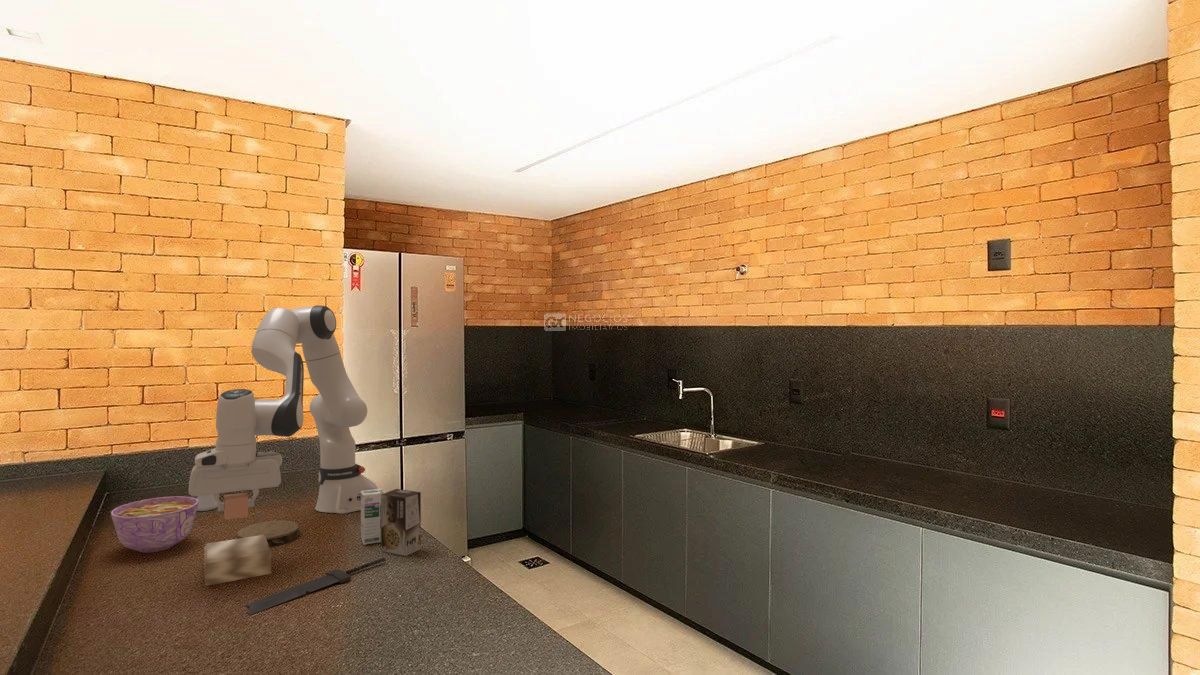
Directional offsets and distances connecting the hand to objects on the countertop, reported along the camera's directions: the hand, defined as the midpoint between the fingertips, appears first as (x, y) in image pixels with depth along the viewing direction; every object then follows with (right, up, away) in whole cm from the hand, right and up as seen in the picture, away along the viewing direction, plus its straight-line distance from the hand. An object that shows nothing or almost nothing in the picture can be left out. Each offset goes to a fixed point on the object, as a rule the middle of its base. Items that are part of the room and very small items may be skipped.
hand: (236, 508), depth 157 cm
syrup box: (+26, -16, +22) cm, 38 cm away
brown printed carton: (+37, -16, +15) cm, 43 cm away
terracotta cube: (0, -2, 0) cm, 2 cm away
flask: (-41, -15, +51) cm, 67 cm away
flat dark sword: (+25, -17, -8) cm, 31 cm away
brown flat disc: (-4, -16, +24) cm, 29 cm away
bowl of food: (-31, -15, +16) cm, 38 cm away
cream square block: (0, -16, 0) cm, 16 cm away
